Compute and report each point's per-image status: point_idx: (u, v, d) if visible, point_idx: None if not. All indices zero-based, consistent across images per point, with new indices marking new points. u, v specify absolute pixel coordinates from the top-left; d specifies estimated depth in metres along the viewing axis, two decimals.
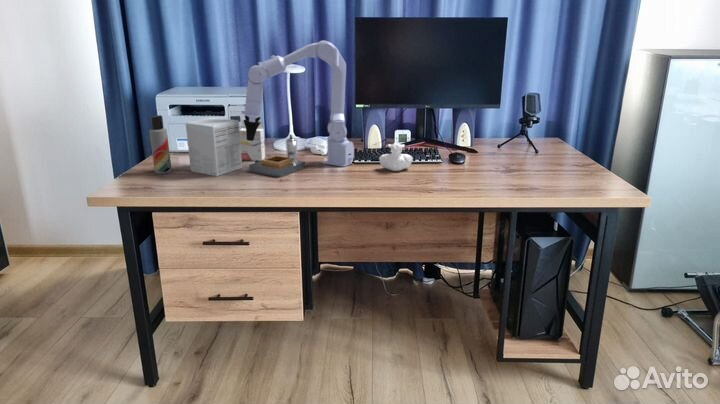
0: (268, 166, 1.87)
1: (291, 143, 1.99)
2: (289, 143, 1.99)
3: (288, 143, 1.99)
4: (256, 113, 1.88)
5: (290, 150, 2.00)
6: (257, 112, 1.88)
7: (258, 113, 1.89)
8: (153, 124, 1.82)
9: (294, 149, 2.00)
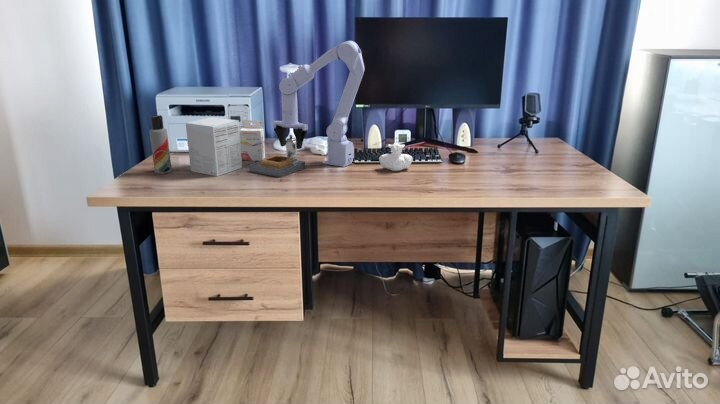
0: (268, 166, 1.87)
1: (291, 143, 1.99)
2: (289, 143, 1.99)
3: (288, 143, 1.99)
4: (297, 122, 1.98)
5: (290, 150, 2.00)
6: (297, 120, 1.98)
7: (297, 121, 1.99)
8: (153, 124, 1.82)
9: (294, 149, 2.00)
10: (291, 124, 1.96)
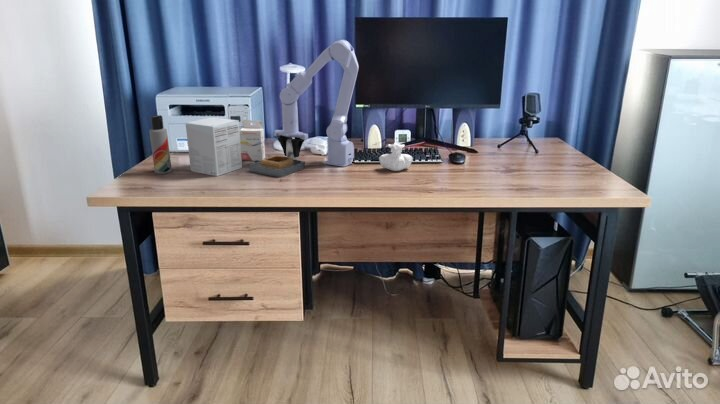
0: (268, 166, 1.87)
1: (291, 143, 1.99)
2: (289, 143, 1.99)
3: (288, 143, 1.99)
4: (298, 131, 1.99)
5: (290, 150, 2.00)
6: None
7: None
8: (153, 124, 1.82)
9: None
10: (291, 133, 1.97)
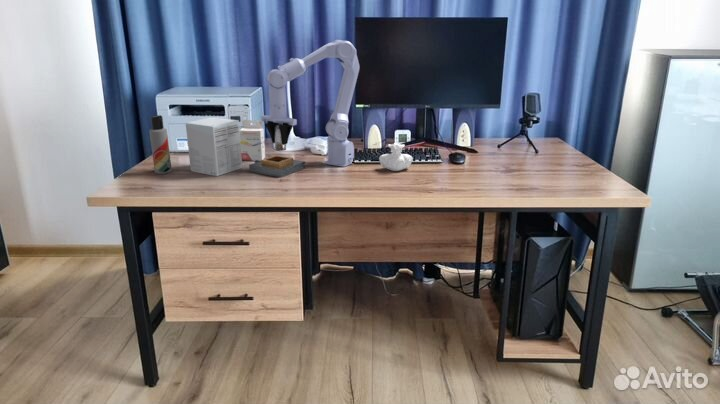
0: (268, 166, 1.87)
1: None
2: (278, 129, 1.89)
3: (277, 129, 1.89)
4: (286, 116, 1.88)
5: (279, 137, 1.89)
6: (286, 115, 1.89)
7: (286, 116, 1.89)
8: (153, 124, 1.82)
9: None
10: (279, 119, 1.86)
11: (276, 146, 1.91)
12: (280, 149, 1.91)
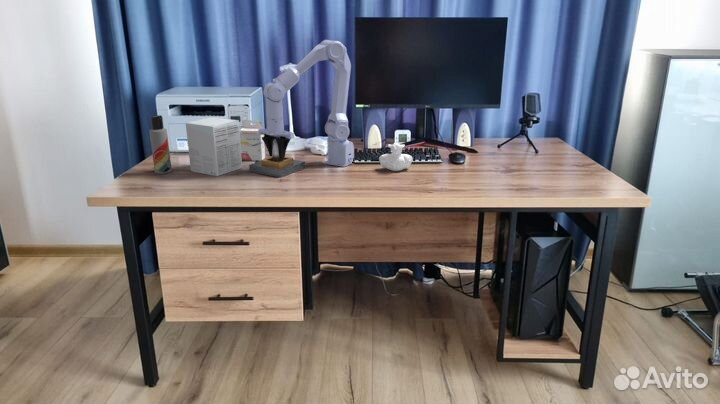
0: (268, 166, 1.87)
1: None
2: (275, 143, 1.87)
3: (274, 143, 1.88)
4: (283, 130, 1.87)
5: (277, 151, 1.88)
6: (283, 128, 1.87)
7: (283, 129, 1.88)
8: (153, 124, 1.82)
9: None
10: (276, 132, 1.85)
11: (273, 159, 1.89)
12: None
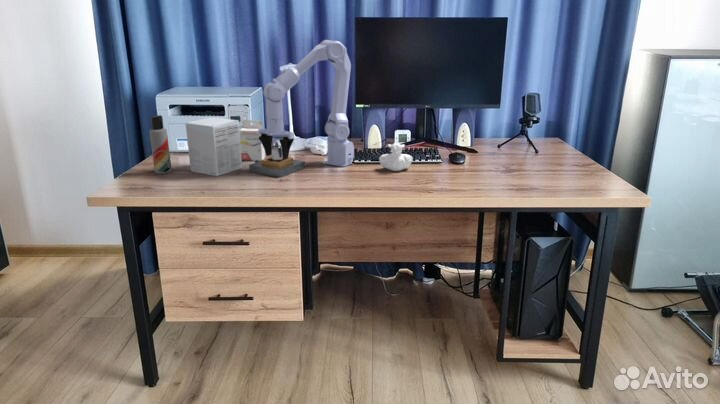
0: (268, 166, 1.87)
1: (277, 151, 1.88)
2: (275, 151, 1.88)
3: (274, 151, 1.88)
4: (283, 130, 1.87)
5: (276, 158, 1.89)
6: (283, 128, 1.87)
7: (283, 129, 1.88)
8: (153, 124, 1.82)
9: (280, 157, 1.89)
10: (276, 132, 1.85)
11: None
12: None
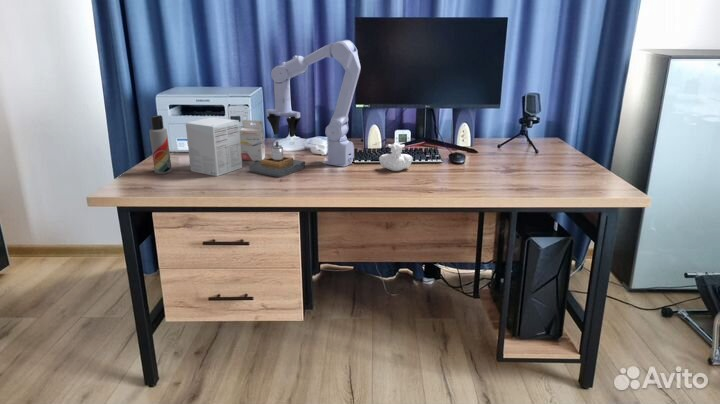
0: (268, 166, 1.87)
1: (277, 150, 1.88)
2: (275, 150, 1.88)
3: (274, 150, 1.88)
4: (290, 110, 2.00)
5: (277, 158, 1.89)
6: (290, 108, 2.00)
7: (290, 109, 2.00)
8: (153, 124, 1.82)
9: (280, 157, 1.89)
10: (284, 112, 1.97)
11: None
12: None
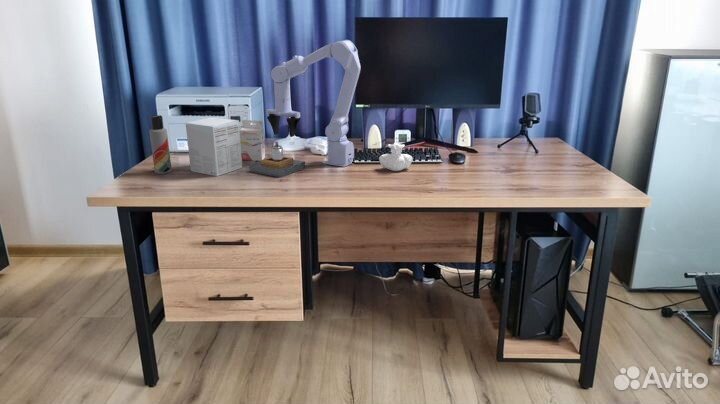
0: (268, 166, 1.87)
1: (277, 151, 1.88)
2: (275, 151, 1.88)
3: (274, 151, 1.88)
4: (290, 110, 2.00)
5: (276, 158, 1.89)
6: (290, 108, 2.00)
7: (290, 109, 2.00)
8: (153, 124, 1.82)
9: (280, 157, 1.89)
10: (284, 112, 1.97)
11: None
12: None
